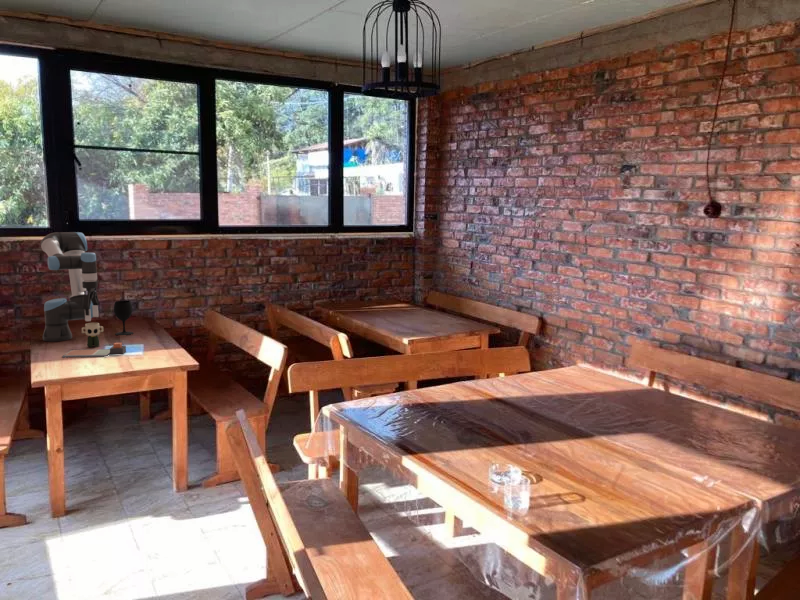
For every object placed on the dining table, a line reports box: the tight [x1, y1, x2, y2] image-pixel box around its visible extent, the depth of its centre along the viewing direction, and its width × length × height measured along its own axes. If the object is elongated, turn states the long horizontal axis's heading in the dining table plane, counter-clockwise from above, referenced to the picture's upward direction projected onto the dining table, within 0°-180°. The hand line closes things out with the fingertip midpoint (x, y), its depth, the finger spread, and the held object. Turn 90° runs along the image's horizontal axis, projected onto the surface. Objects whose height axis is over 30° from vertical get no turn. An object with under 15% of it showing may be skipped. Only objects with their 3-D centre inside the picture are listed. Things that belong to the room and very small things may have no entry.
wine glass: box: [113, 300, 134, 336], centre depth 389 cm, size 10×10×20 cm
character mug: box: [81, 322, 104, 348], centre depth 355 cm, size 11×7×13 cm, turn 116°
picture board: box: [61, 348, 110, 359], centre depth 339 cm, size 15×22×1 cm
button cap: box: [112, 342, 123, 348], centre depth 341 cm, size 3×3×3 cm
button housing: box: [109, 345, 127, 355], centre depth 341 cm, size 6×6×4 cm
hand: (92, 319), depth 354 cm, fingers open, 13 cm apart
